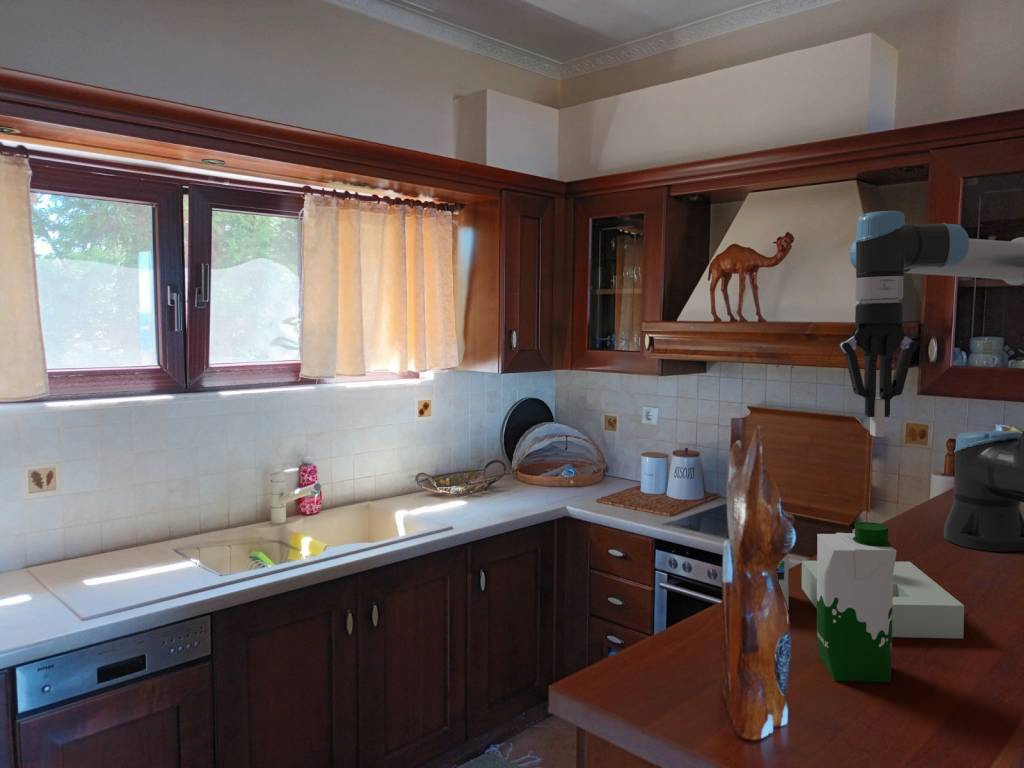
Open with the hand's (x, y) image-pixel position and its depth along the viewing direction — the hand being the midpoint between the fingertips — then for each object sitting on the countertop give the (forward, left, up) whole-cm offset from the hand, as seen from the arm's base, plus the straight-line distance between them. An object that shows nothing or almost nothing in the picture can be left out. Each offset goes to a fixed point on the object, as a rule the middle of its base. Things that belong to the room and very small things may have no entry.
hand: (877, 435), depth 135 cm
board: (+5, +15, -26) cm, 31 cm away
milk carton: (+15, +36, -27) cm, 47 cm away
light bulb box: (+22, +12, -27) cm, 37 cm away
